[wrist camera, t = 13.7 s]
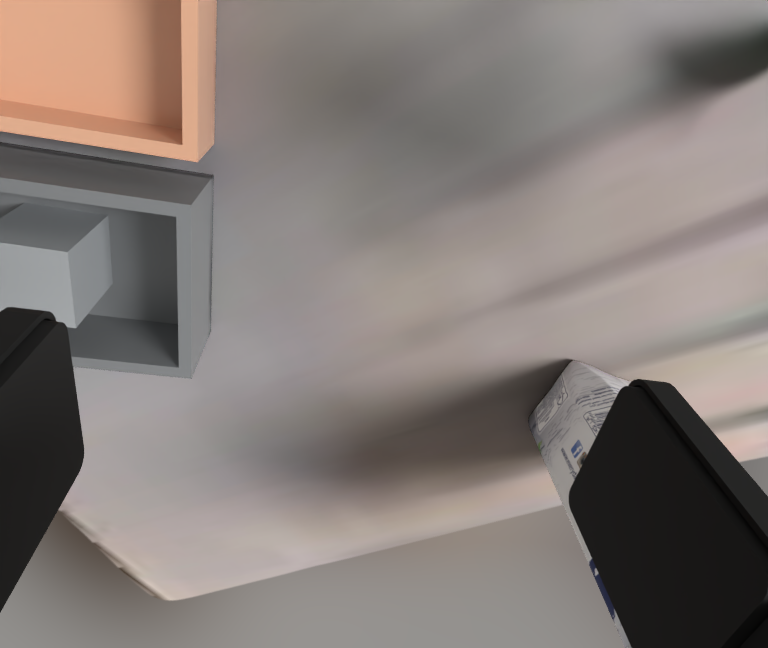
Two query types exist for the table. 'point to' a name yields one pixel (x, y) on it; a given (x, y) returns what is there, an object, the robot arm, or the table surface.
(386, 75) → the table surface
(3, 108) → the trough
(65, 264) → the block
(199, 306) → the bin
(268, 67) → the table surface
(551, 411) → the juice carton
